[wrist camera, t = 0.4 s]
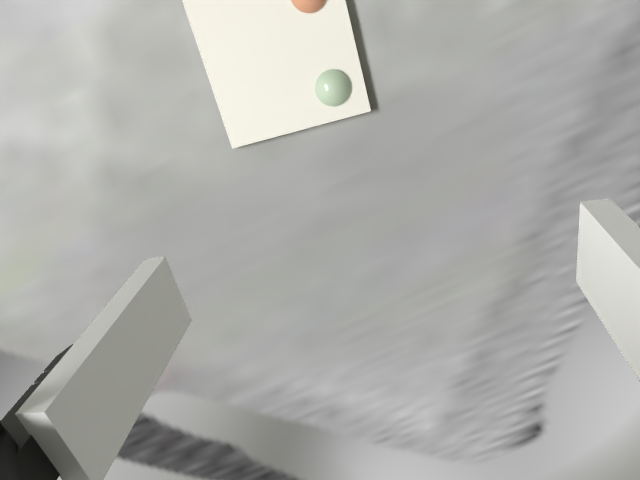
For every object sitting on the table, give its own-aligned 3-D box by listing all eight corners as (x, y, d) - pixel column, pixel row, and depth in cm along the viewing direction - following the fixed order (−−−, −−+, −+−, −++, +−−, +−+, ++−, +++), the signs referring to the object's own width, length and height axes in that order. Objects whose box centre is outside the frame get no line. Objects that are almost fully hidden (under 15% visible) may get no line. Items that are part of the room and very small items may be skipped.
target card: (183, -4, 36) (180, -5, 36) (332, -55, 34) (332, -57, 33) (234, 147, 40) (231, 148, 40) (371, 110, 38) (370, 111, 37)
